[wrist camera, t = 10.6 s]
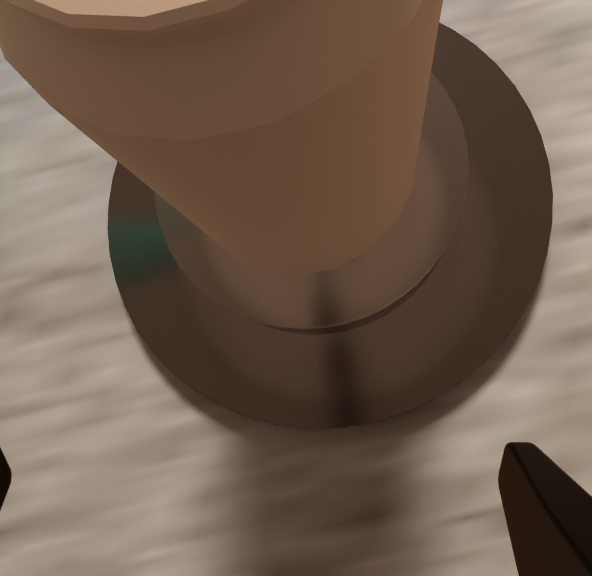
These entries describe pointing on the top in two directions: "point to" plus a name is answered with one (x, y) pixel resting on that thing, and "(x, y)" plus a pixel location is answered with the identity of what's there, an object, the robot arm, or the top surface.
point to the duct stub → (357, 273)
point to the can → (245, 110)
